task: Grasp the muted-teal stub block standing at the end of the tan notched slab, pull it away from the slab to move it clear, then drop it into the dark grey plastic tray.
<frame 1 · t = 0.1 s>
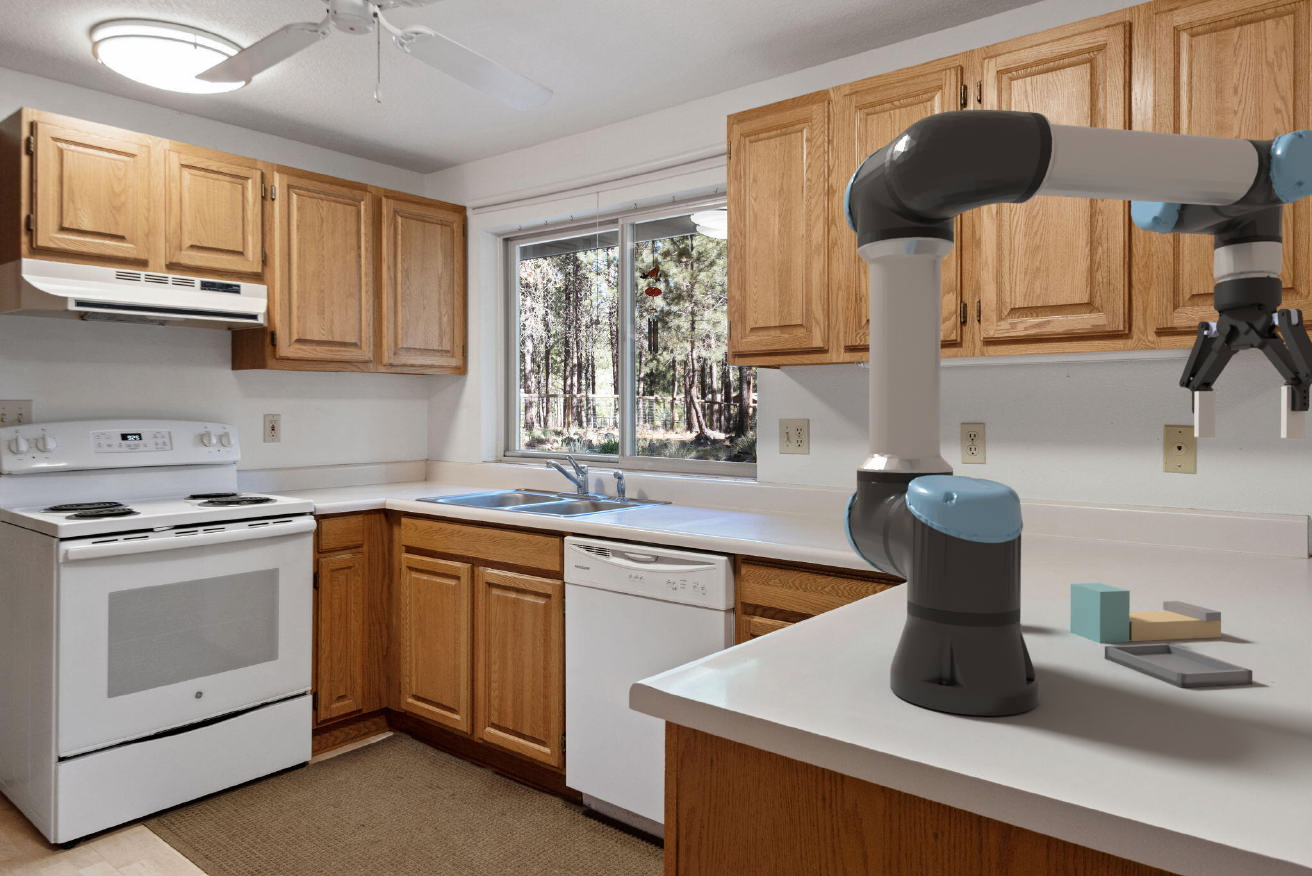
hand: (1246, 437, 112), 28 cm above the counter, fingers open, 13 cm apart
stub: (1099, 637, 116), on the counter
tray: (1174, 670, 99), on the counter
tan notched slab: (1160, 633, 117), on the counter
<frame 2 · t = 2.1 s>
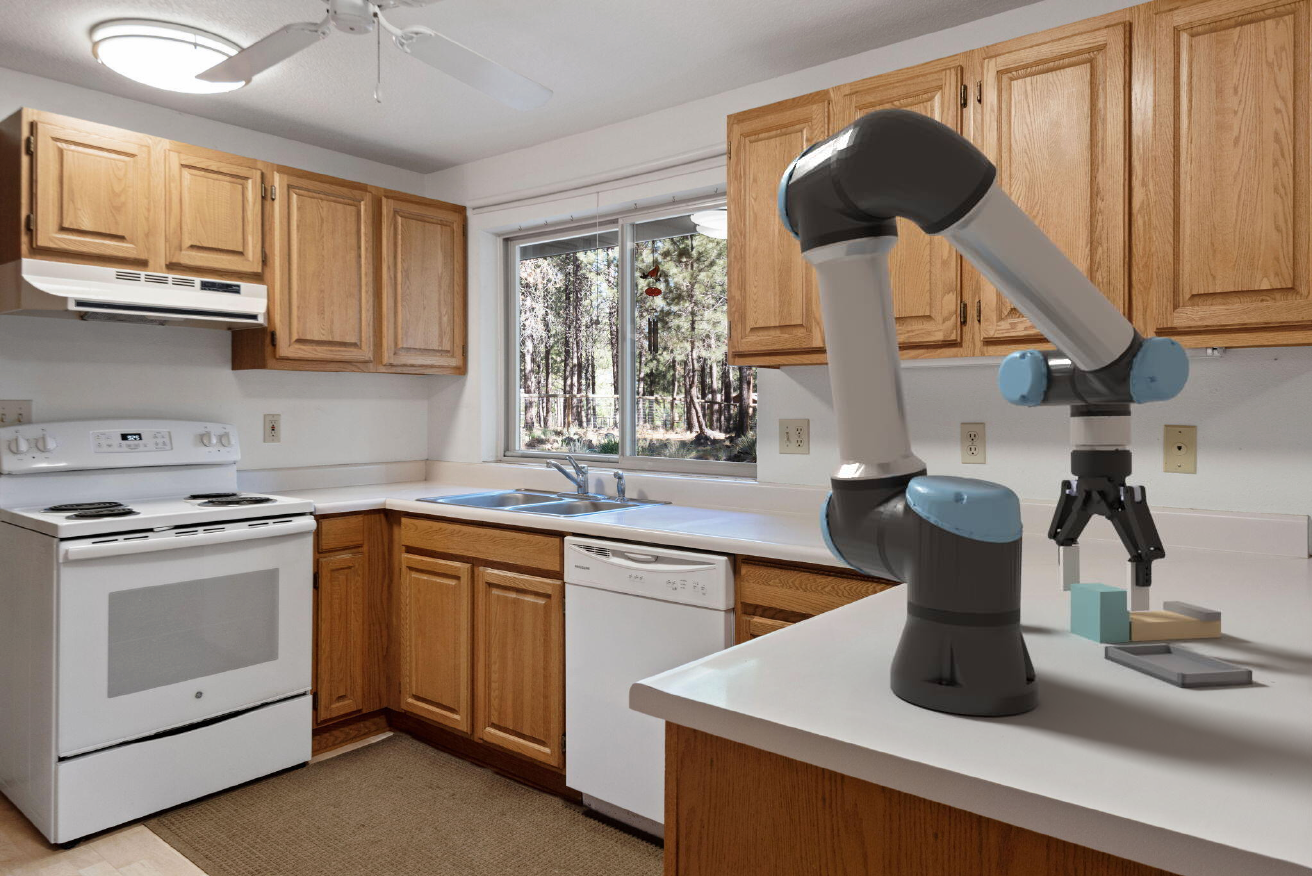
hand: (1102, 600, 116), 5 cm above the counter, fingers open, 13 cm apart
nothing on the counter moved.
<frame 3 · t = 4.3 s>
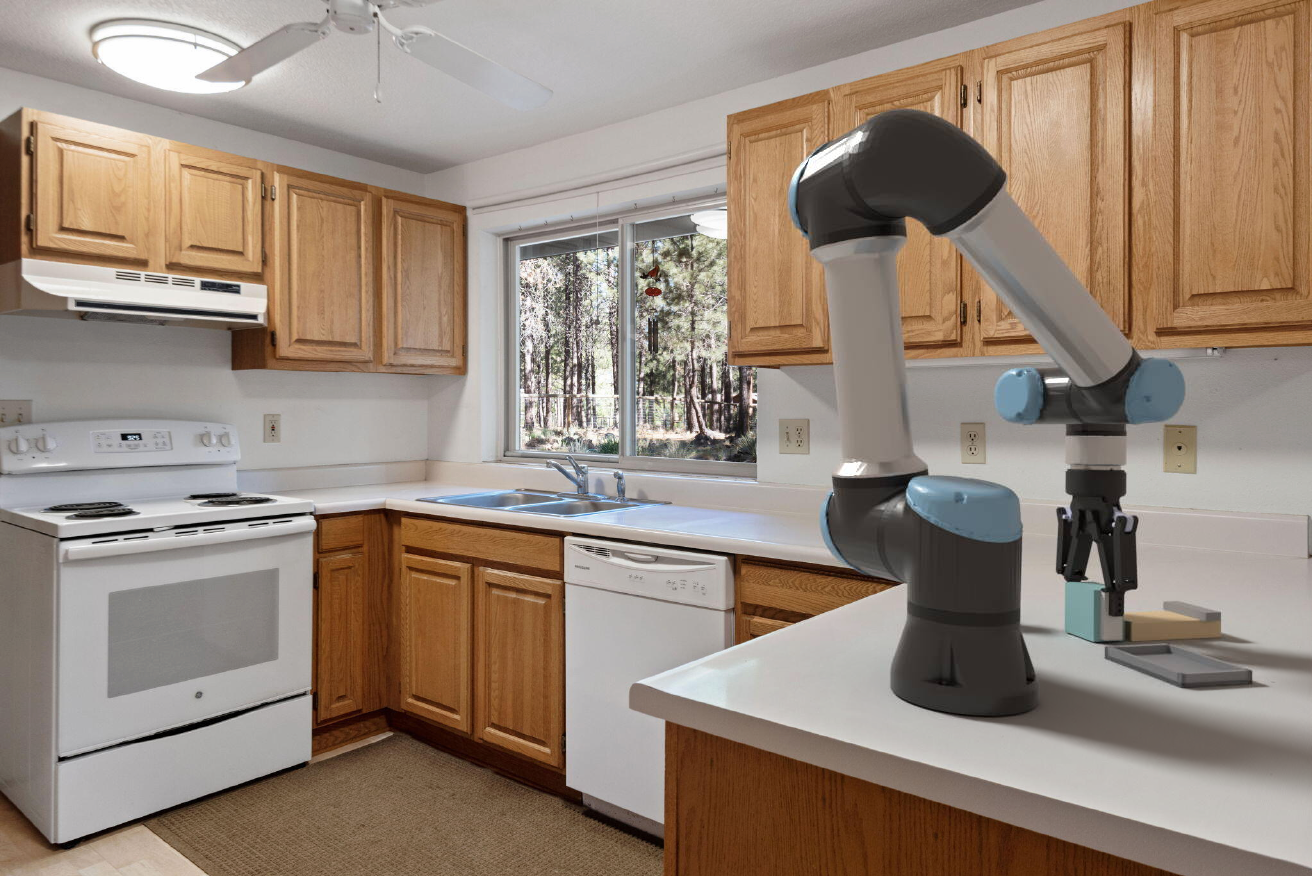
hand: (1093, 633, 115), 1 cm above the counter, fingers closed on stub, 6 cm apart
stub: (1093, 635, 115), on the counter, touching gripper
everything else where it was.
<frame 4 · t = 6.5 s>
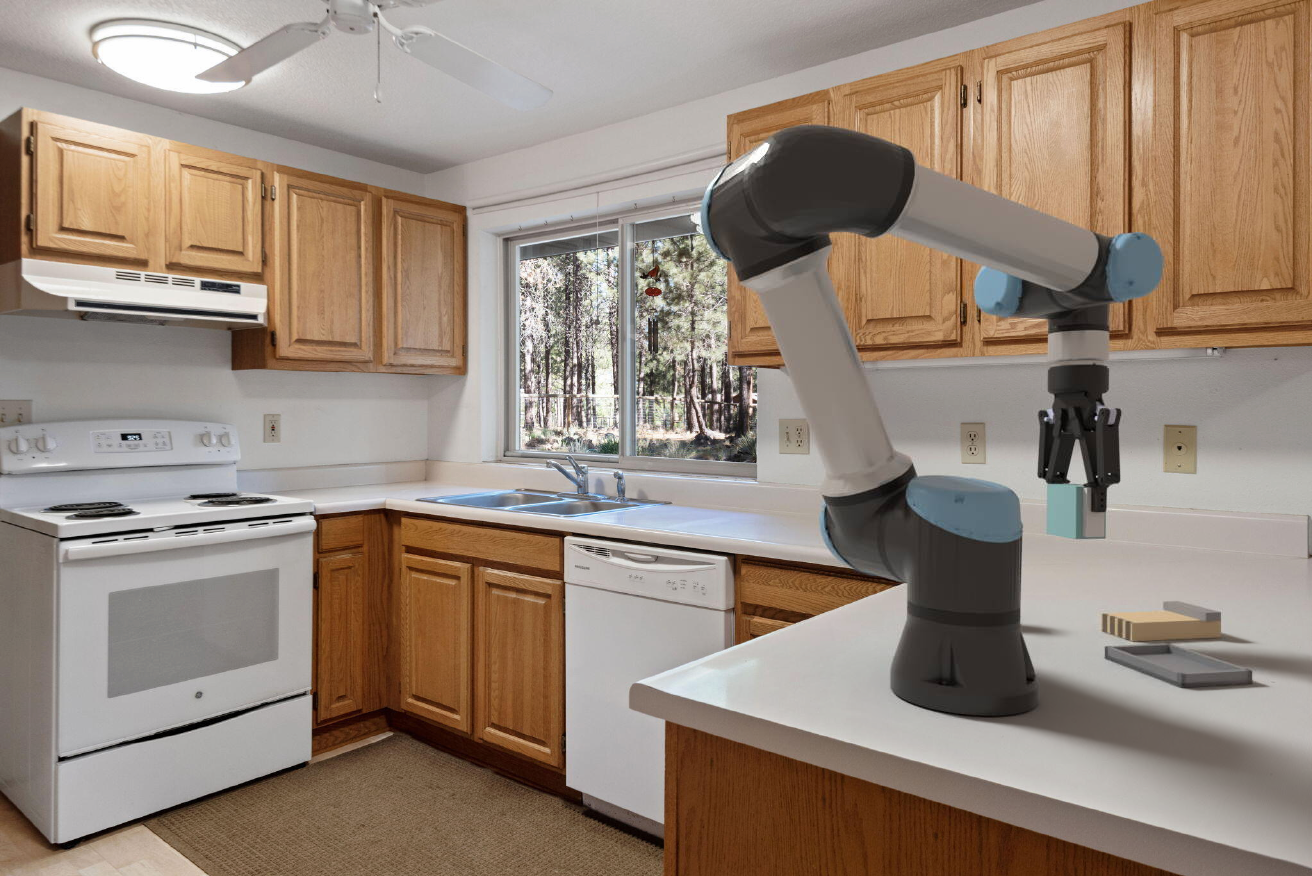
hand: (1075, 533, 114), 15 cm above the counter, fingers closed on stub, 6 cm apart
stub: (1075, 536, 114), point 14 cm above the counter, touching gripper
everything else where it was.
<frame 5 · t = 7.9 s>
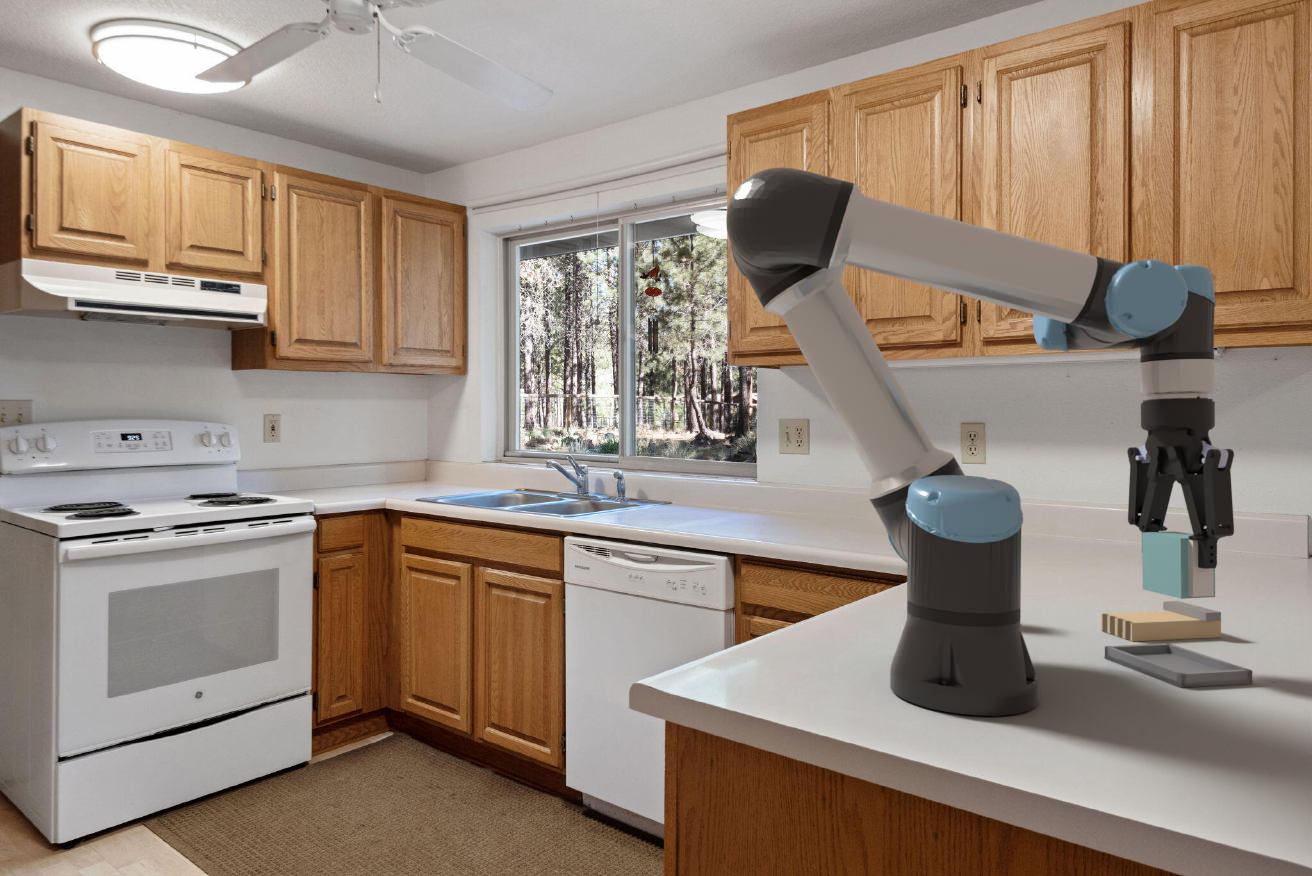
hand: (1177, 589, 99), 10 cm above the counter, fingers closed on stub, 6 cm apart
stub: (1178, 593, 99), point 9 cm above the counter, touching gripper
everything else where it was.
when the fingers open (1 cm above the counter, at t = 9.1 s): stub stays where it is, resting on tray.
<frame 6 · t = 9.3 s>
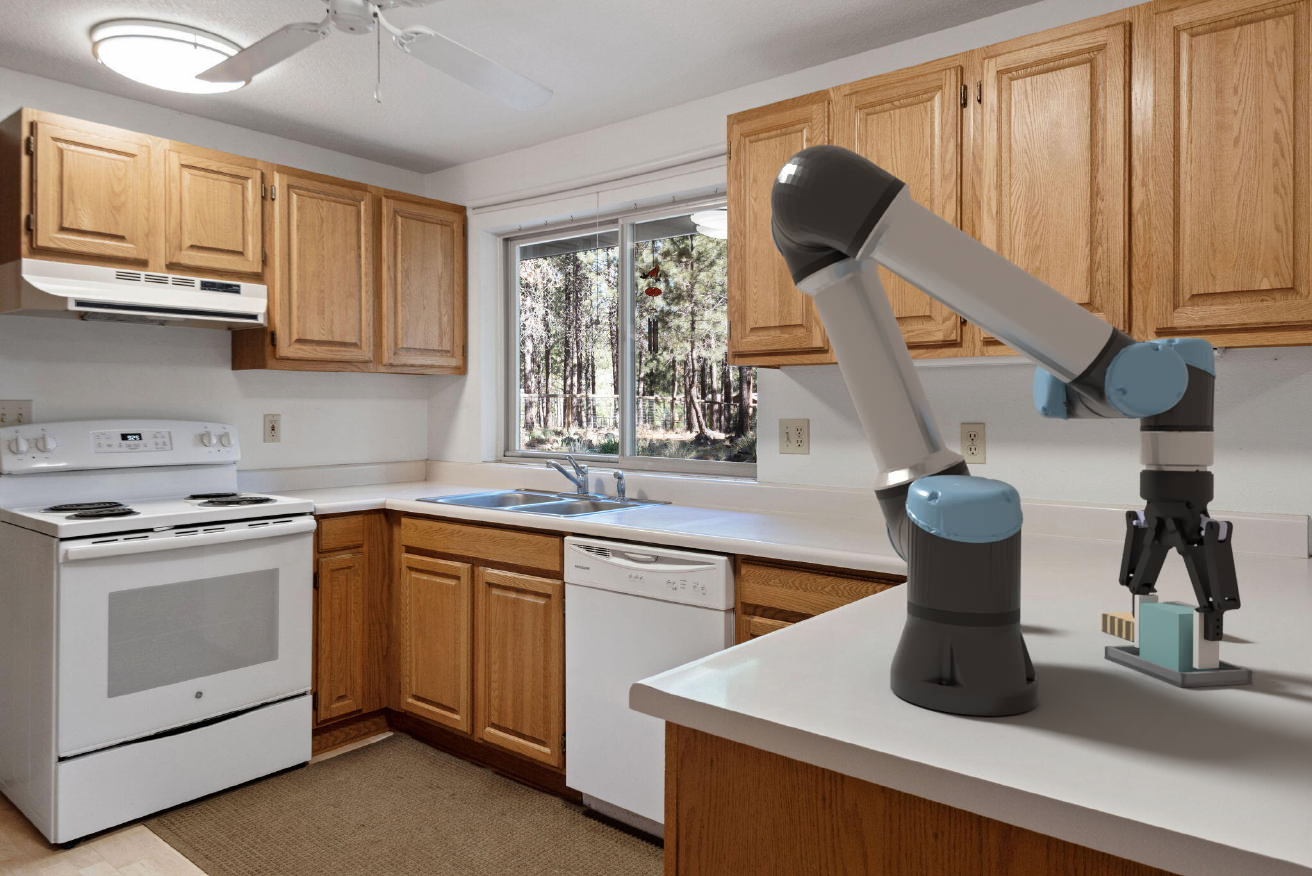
hand: (1174, 656, 99), 2 cm above the counter, fingers open, 8 cm apart
stub: (1174, 666, 99), resting on tray
everything else where it was.
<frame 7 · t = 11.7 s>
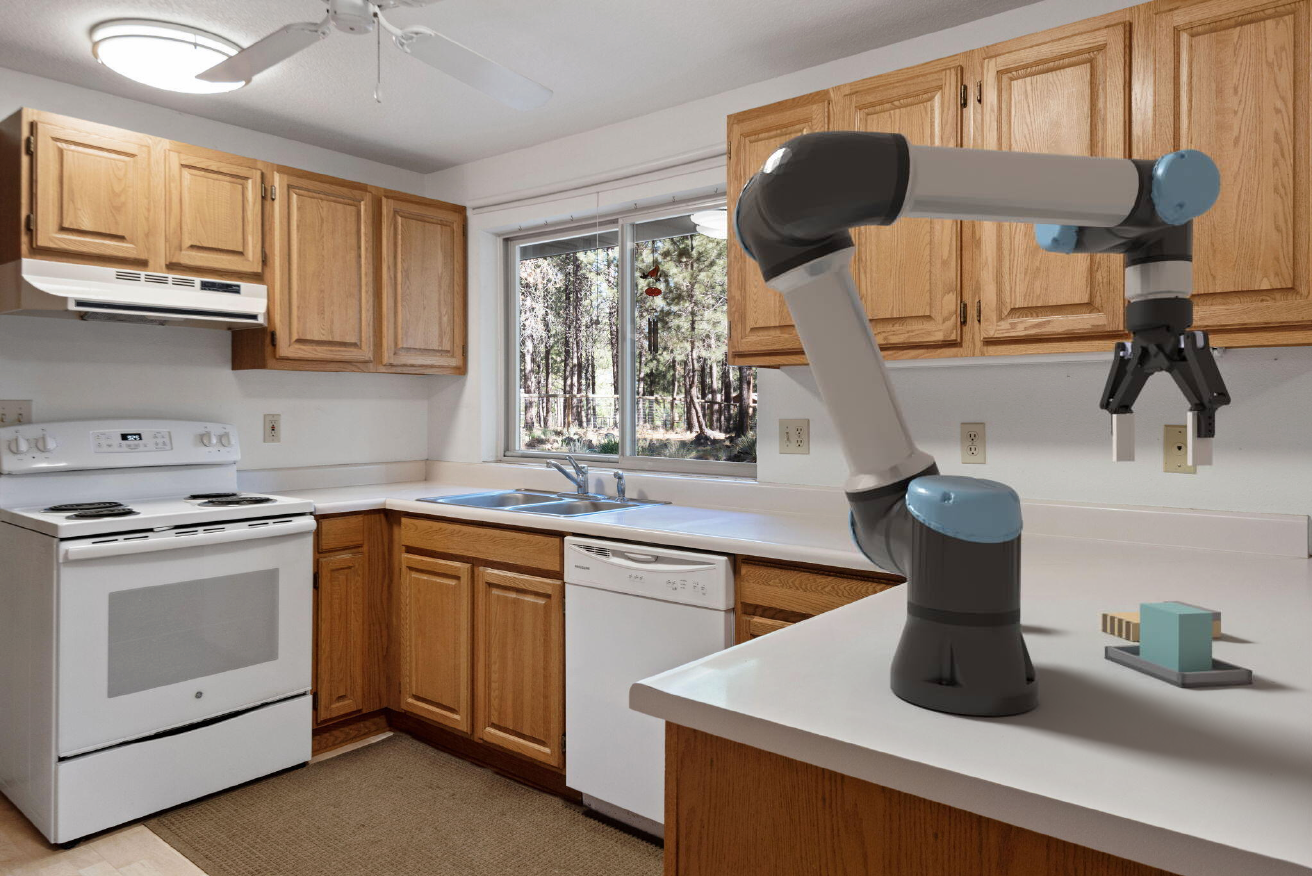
hand: (1159, 463, 108), 25 cm above the counter, fingers open, 13 cm apart
nothing on the counter moved.
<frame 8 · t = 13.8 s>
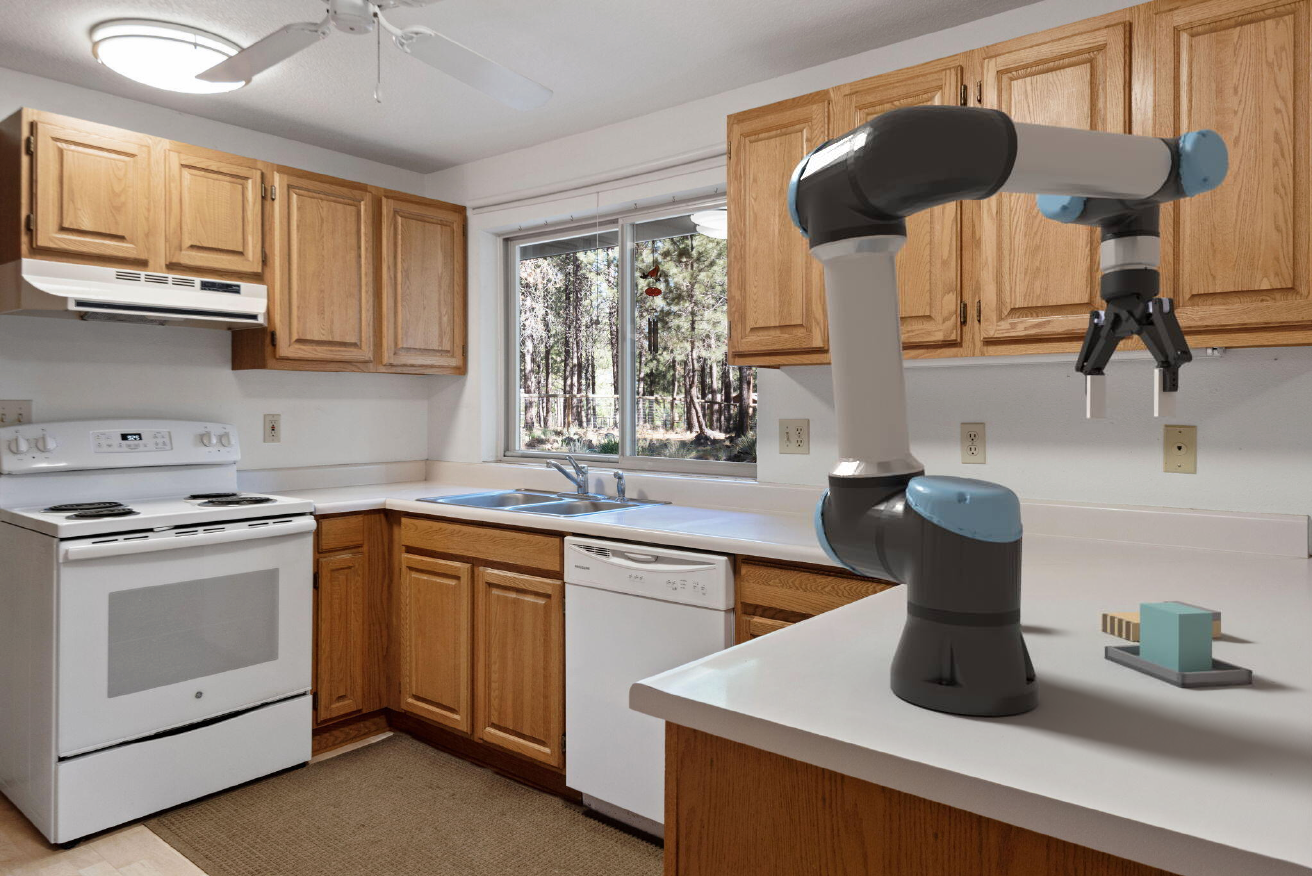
hand: (1128, 417, 121), 31 cm above the counter, fingers open, 13 cm apart
nothing on the counter moved.
at the end: stub inside the target area on the tray (0.0 cm from its centre), point 0.5 cm above the tray's base; stub touching tray; the gripper is holding nothing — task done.
